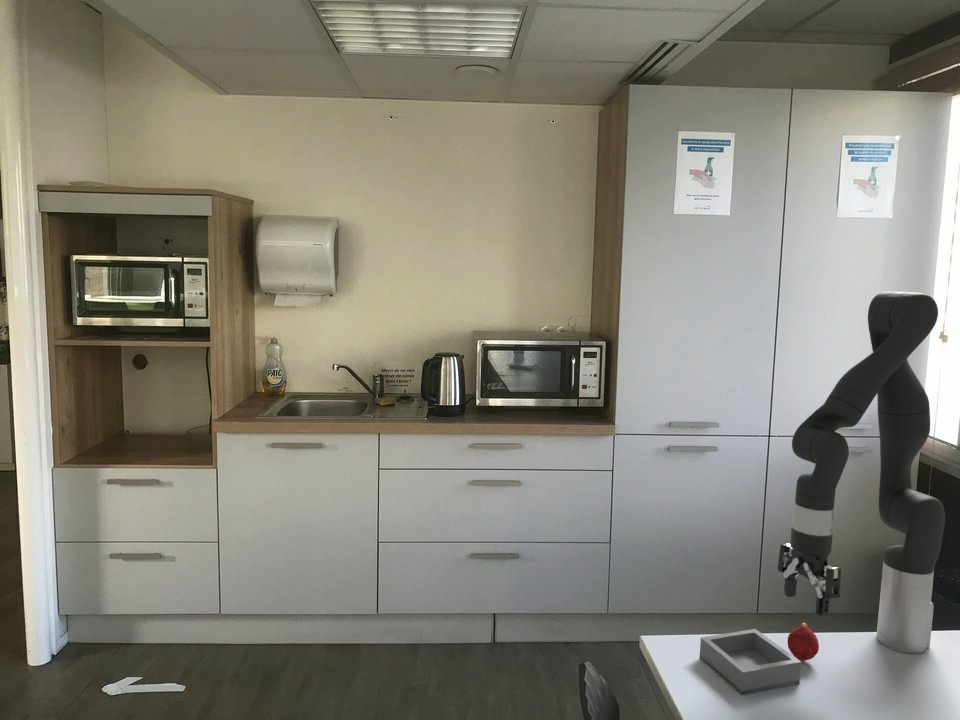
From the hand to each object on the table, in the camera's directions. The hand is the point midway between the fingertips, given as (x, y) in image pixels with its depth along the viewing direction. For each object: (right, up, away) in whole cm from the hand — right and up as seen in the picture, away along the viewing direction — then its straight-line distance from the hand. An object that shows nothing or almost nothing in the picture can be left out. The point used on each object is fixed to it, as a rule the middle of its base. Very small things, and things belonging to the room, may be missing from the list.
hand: (805, 605), depth 144 cm
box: (-12, -12, -2) cm, 18 cm away
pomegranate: (0, -12, +2) cm, 12 cm away
